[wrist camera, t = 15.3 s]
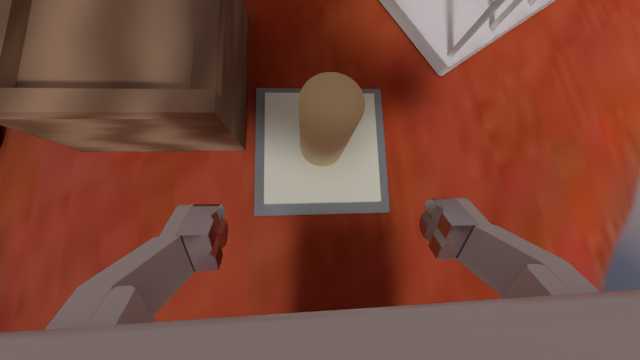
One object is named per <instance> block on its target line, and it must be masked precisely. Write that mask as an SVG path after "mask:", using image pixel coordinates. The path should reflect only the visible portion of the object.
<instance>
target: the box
mask: <svg viewBox="0 0 640 360" xmlns="http://www.w3.org/2000/svg"><path fill="white" fill-rule="evenodd" d="M247 48H248V14H247V11H246V7H245V3H244V0H0V125H2V126H5V127H8V128H11V129H14V130H17V131H21V132H24V133H27V134H30V135H33V136H36V137H39V138H42V139H45V140H48V141H51V142H55V143H58V144H61V145H64V146H67V147H70V148H73V149H76V150H79V151H82V152H113V151H238V150H245V133H246V90H247Z"/></svg>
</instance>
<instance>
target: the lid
mask: <svg viewBox="0 0 640 360" xmlns="http://www.w3.org/2000/svg"><path fill="white" fill-rule="evenodd" d="M379 201H381V190H380V176H379V161H378V147H377V132H376V117H375V103H374V93H363V92H362V90H361V88H360V87H359V86H358V84H357V83H356V82H355V81H354V80H352V79H351V78H350V77H348V76H346V75H344V74H341V73H337V72H324V73H320V74H317V75H315V76H313V77H312V78H310V79H309V80H308V81H307V82H306V83H305V84H304V86H303V87H302V89H301V91H300V93H265V143H264V204H304V203H349V202H379Z"/></svg>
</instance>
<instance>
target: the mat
mask: <svg viewBox="0 0 640 360" xmlns="http://www.w3.org/2000/svg"><path fill="white" fill-rule="evenodd" d="M301 89H302V88H256V138H255V199H254V216H278V215H316V214H354V213H389V212H390V208H389V195H388V181H387V168H386V154H385V141H384V127H383V114H382V101H381V89H361V90H362V92H363V93H374V103H375V117H376V132H377V147H378V161H379V176H380V190H381V201H379V202H349V203H304V204H264V143H265V93H300V91H301Z"/></svg>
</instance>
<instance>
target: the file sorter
mask: <svg viewBox="0 0 640 360" xmlns="http://www.w3.org/2000/svg"><path fill="white" fill-rule="evenodd" d="M379 1H380V2H381V3H382V5H383V6H384V7H385V9H386V10H387V11H388V12H389V14H390V15H391V16H392V17H393V19H394V20H395V21H396V22H397V24H398V25H399V26H400V27H401V29H402V30H403V31H404V32H405V34H406V35H407V36H408V37H409V39H410V40H411V41H412V42H413V44H414V45H415V46H416V48H417V49H418V50H419V51H420V53H421V54H422V55H423V56H424V58H425V59H426V60H427V61H428V63H429V64H430V65H431V67H432V68H433V69H434V70H435V72H436V73H437V74H438V75H439V76H443V75H444V74H446V73H447V72H449V71H450V70H452V69H453V68H455V67H456V66H457V65H459V64H460V63H462V62H463V61H465V60H466V59H468V58H469V57H471V56H472V55H474V54H475V53H477V52H478V51H480V50H481V49H483V48H484V47H486V46H487V45H489V44H490V43H492V42H493V41H495V40H496V39H498V38H499V37H501V36H502V35H504V34H505V33H507V32H508V31H510V30H511V29H513V28H514V27H516V26H517V25H519V24H520V23H522V22H524V21H525V20H527V19H528V18H530V17H531V16H533V15H534V14H536V13H537V12H539V11H540V10H542V9H543V8H545V7H546V6H548V5H549V4H551V3H552V2H554V1H555V0H379Z"/></svg>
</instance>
